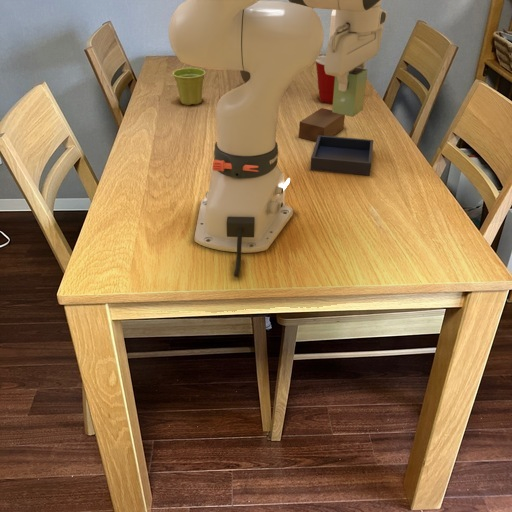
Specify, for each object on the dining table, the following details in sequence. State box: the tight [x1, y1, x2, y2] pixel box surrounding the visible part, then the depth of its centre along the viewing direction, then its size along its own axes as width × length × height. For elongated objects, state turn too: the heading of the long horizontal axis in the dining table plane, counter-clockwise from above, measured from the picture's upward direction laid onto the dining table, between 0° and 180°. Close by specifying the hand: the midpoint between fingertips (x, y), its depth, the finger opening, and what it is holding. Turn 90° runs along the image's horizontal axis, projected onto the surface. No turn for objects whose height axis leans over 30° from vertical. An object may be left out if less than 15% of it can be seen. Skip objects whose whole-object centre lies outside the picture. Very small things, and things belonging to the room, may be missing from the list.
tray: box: [309, 135, 374, 177], centre depth 130 cm, size 13×13×3 cm
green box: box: [331, 67, 368, 118], centre depth 121 cm, size 10×5×10 cm
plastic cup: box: [315, 55, 335, 104], centre depth 162 cm, size 11×11×12 cm
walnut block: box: [298, 107, 346, 143], centre depth 143 cm, size 7×12×4 cm, turn 147°
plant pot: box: [172, 67, 206, 106], centre depth 161 cm, size 9×9×9 cm
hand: (349, 86), depth 121 cm, fingers closed on green box, 5 cm apart
